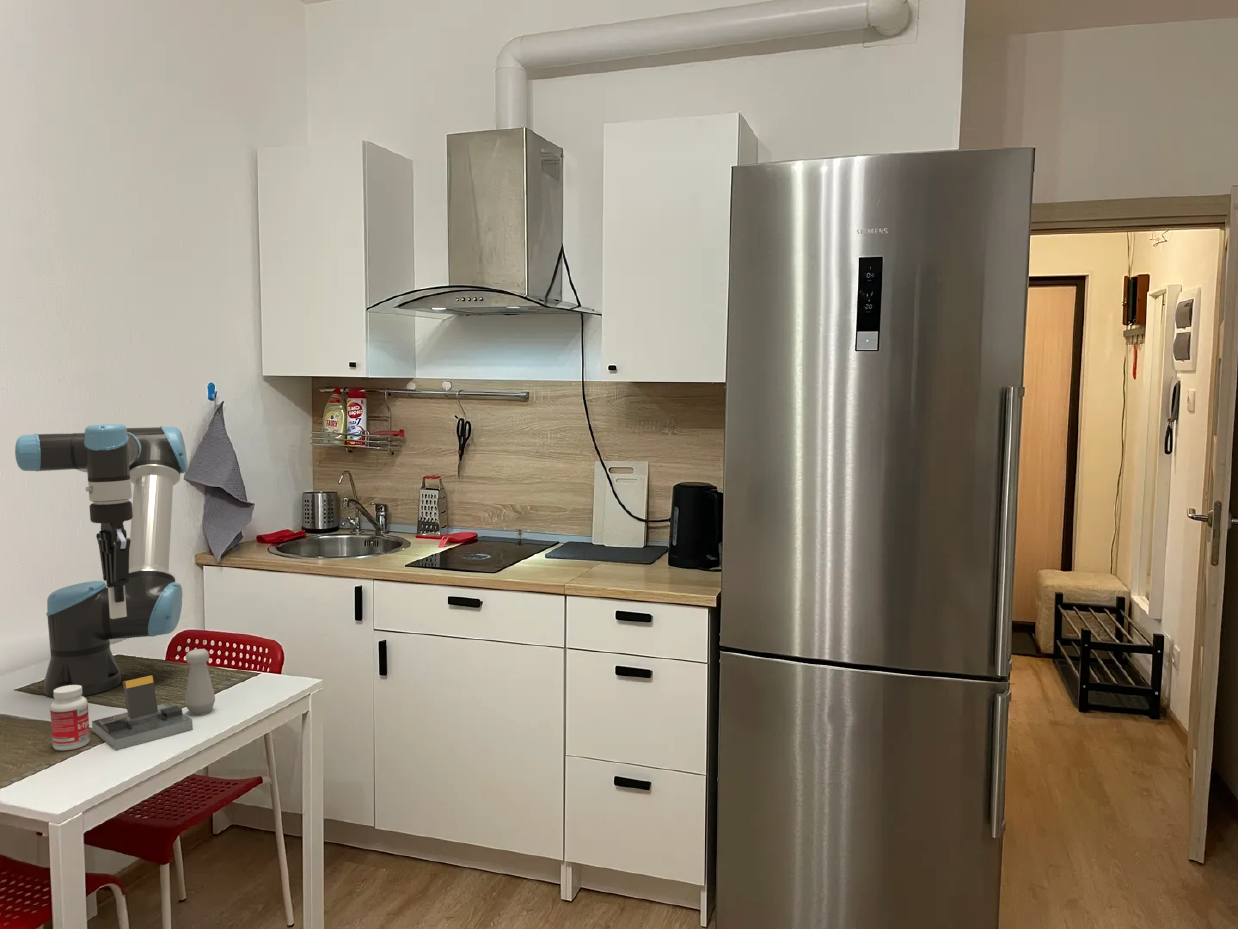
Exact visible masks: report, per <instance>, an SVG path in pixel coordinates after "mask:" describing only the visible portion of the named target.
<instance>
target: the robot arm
mask: <svg viewBox="0 0 1238 929" xmlns="http://www.w3.org/2000/svg"><path fill="white" fill-rule="evenodd" d="M185 444H186V443H185V440H184V436H183V433H182V431H181V430H180V429H179V428H178V427H175V426H160V427H158V426H157V427H156V426H155V427H153V426H152V427H127V426H126V425H125V424H123V423H122V424H121V423H103V424H102V423H101V424H90V425H87V426H86V427H85V428H84V432H79V433H78V432H74V433H40V434H38V433H33V434H22V435H20V436H19V437H18V438H17V440H16V442H15V446H14V451H15V452H14V455H15V460H16V462H15V463H16V464H17V467H19V468H18V469H20V470H21V471H23V472H24V471H25V472H45V471H48V472H49V471H65V470H67V471H68V470H69V471H70V470H76V471H79V472H82V473H87V486H86V487H85V492H88V499H89V501H90V502H92V503H90V505H89V517H90V518H89V520H90V522H91V523H93V524H100V530H99V531H98V533H96V535H95V537H96V539H97V544H98V549H99V557H100V563H101V564H100V565H101V569H102V579H103V580H93V581H92V580H91V581H85V582H81V583H80V582H79V583H75V584H72V585H67V586H65V587H62V588H59V589H56V590H55V591H53V592H51V593H50V594H49V595H48V597H47V604H46V605H47V606H46V608H47V609H46V610H47V611H46V617H47V627H48V629H47V630H48V637H49V648H50V649H49V650H50V660H49V662H48V666H47V670H46V674H45V677H44V681H43V694H44V695H45V696H46V697H50V698H54V692H53V691H54V690H55V689H56V688H59V687H62V686H68V685H80V686H82V695H81V696H83V697H85V696H90V695H95V694H99V693H103V692H105V691H108V690H111V689H113V688H116V687H117V686H119V685H120V683H121V682H122V674H121V670H120V668H119V666H118V664H117V661H116V659H115V656H114V655H113V653H112V651H111V646H110V645H111V642H110V640H118V639H120V640H121V639H130V638H131V639H132V638H145V637H146V638H147V637H153V638H154V637H156V636H162V635H163V636H164V635H169V634H171V633H173V632H174V631H175V630H176V628H177V627H178V624H179V622H180V618H181V613H182V607H183V587H182V586H181V584H180V583H179V582H176V577H175V575H173V573H171V572H169V570H170V567H169V566H170V548H171V547H170V546H171V529H172V511H173V493H174V486H176V485H177V484H178V483H179V482H180V479H181V474H185V473H187V472H188V470H189V464H188V458H187V457H188V456H187V451H186V445H185ZM132 484H133V493H132ZM131 499H132V502H131V501H130V500H131ZM127 521H130V522H131V523H130V534H129V537H128V536H127V530H126V529H125V525H124V522H127ZM127 537H128V538H127Z"/></svg>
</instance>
